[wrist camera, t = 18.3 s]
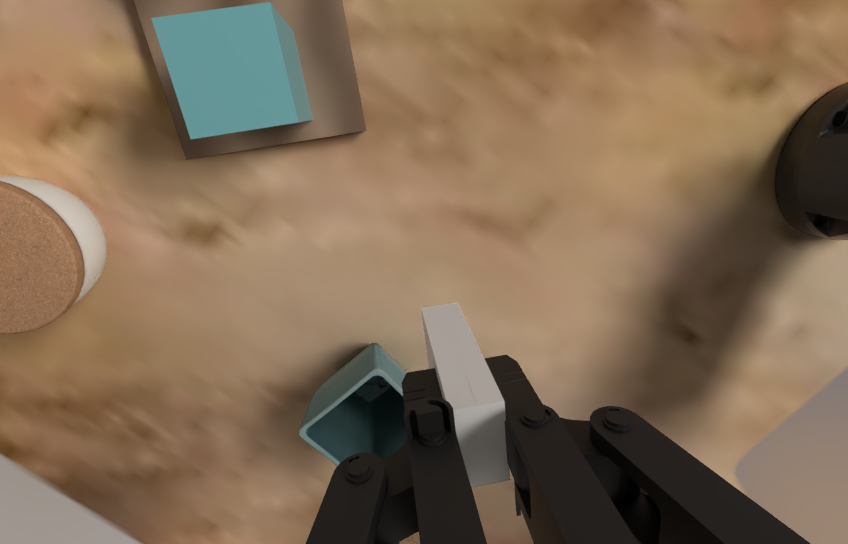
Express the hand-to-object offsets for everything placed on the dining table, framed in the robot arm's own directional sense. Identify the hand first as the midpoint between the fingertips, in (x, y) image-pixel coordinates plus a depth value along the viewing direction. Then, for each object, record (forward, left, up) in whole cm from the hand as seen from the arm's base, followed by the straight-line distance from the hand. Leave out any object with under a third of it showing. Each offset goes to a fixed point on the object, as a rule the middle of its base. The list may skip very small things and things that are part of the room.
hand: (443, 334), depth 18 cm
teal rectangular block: (+8, -12, -21) cm, 26 cm away
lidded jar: (+27, -3, -23) cm, 36 cm away
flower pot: (+5, +16, -23) cm, 28 cm away
